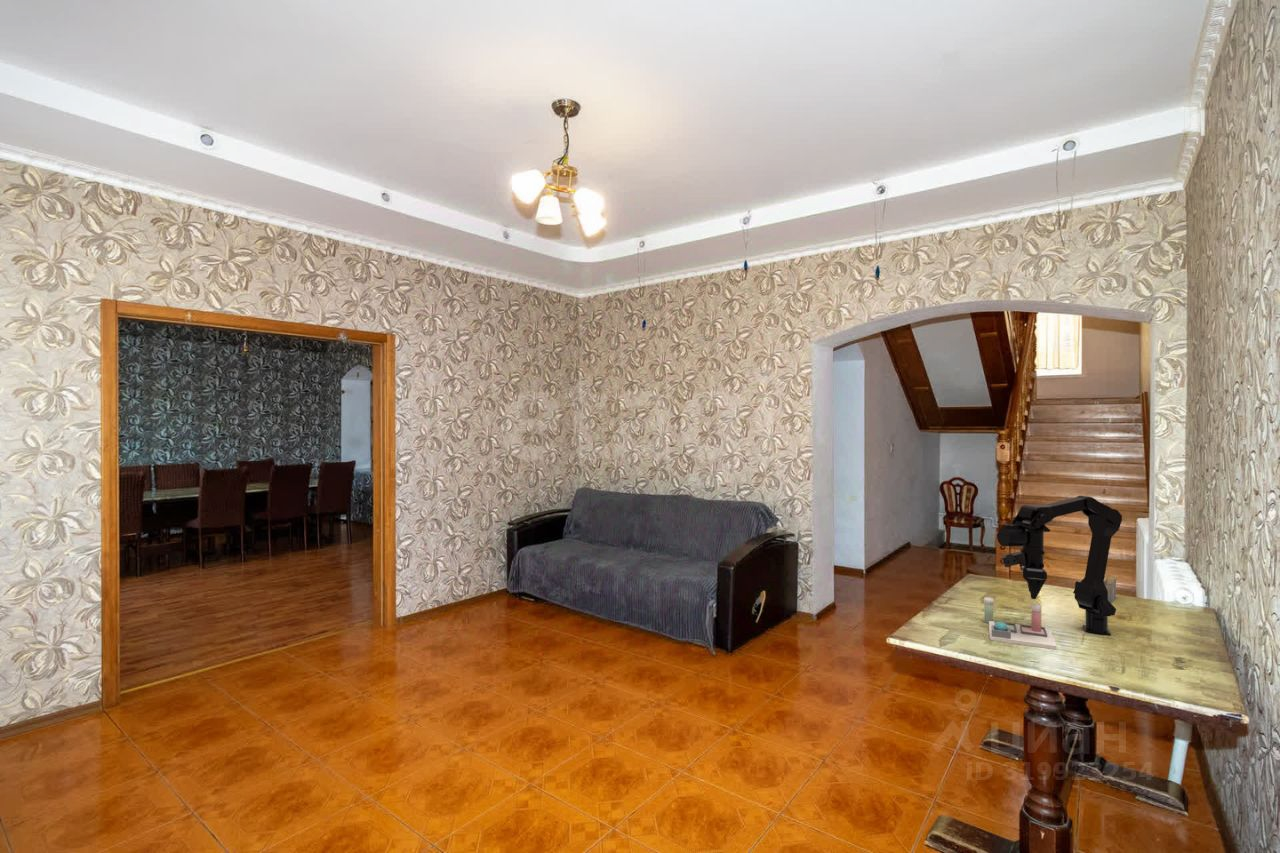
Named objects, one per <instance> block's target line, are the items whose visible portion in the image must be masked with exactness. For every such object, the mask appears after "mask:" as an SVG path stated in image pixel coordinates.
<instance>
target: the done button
mask: <svg viewBox="0 0 1280 853" xmlns="http://www.w3.org/2000/svg"><path fill="white" fill-rule="evenodd" d="M994 622H995V621H994ZM1004 622H1005V621H999V622H995V630H1001V631H1007V624H1006V623H1007V622H1006V623H1004Z"/></svg>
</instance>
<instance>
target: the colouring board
mask: <svg viewBox="0 0 1280 853" xmlns="http://www.w3.org/2000/svg"><path fill="white" fill-rule="evenodd" d="M995 622H1000V621H999V620H998V621H996V620H995V621H994V620H993V621H989V623H988V629H989V633H988V634H989V640H990V641H995V642H1003V643H1008V644H1015V645H1022V646H1030V647H1037V648H1043V649H1051V650H1057V648H1058V647H1057V644H1056V640H1055V637H1054V635H1053V632H1052V629H1051V628H1046V627H1045V626H1044V627H1043V626H1041V632H1036V631H1032V630H1031V625H1028V624H1023V623H1021V624H1016V623H1014V622H1013V623H1012V622H1005V621H1003V622H1004V623H1006V624H1007V631H1001V630H995Z"/></svg>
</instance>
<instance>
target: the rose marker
mask: <svg viewBox="0 0 1280 853" xmlns="http://www.w3.org/2000/svg"><path fill="white" fill-rule="evenodd" d="M1030 604H1031V605H1030V609H1031V610H1030V612H1031V618H1030V619H1031V621H1030V622H1031V624H1030V626H1031V630H1032V631H1036V632H1041V627H1042V605H1041V604H1039V603H1030Z"/></svg>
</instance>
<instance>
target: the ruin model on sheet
mask: <svg viewBox="0 0 1280 853" xmlns="http://www.w3.org/2000/svg"><path fill="white" fill-rule="evenodd" d="M1105 578H1106V579H1104V584H1105V586H1106V588H1107V591H1108V601H1109V602H1110V603H1111V604H1113V602H1114V600H1116V598H1117V578H1116V576H1115V575H1113V574H1111V573H1109V572H1107V571H1106V572H1105ZM1115 595H1116V596H1115Z"/></svg>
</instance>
